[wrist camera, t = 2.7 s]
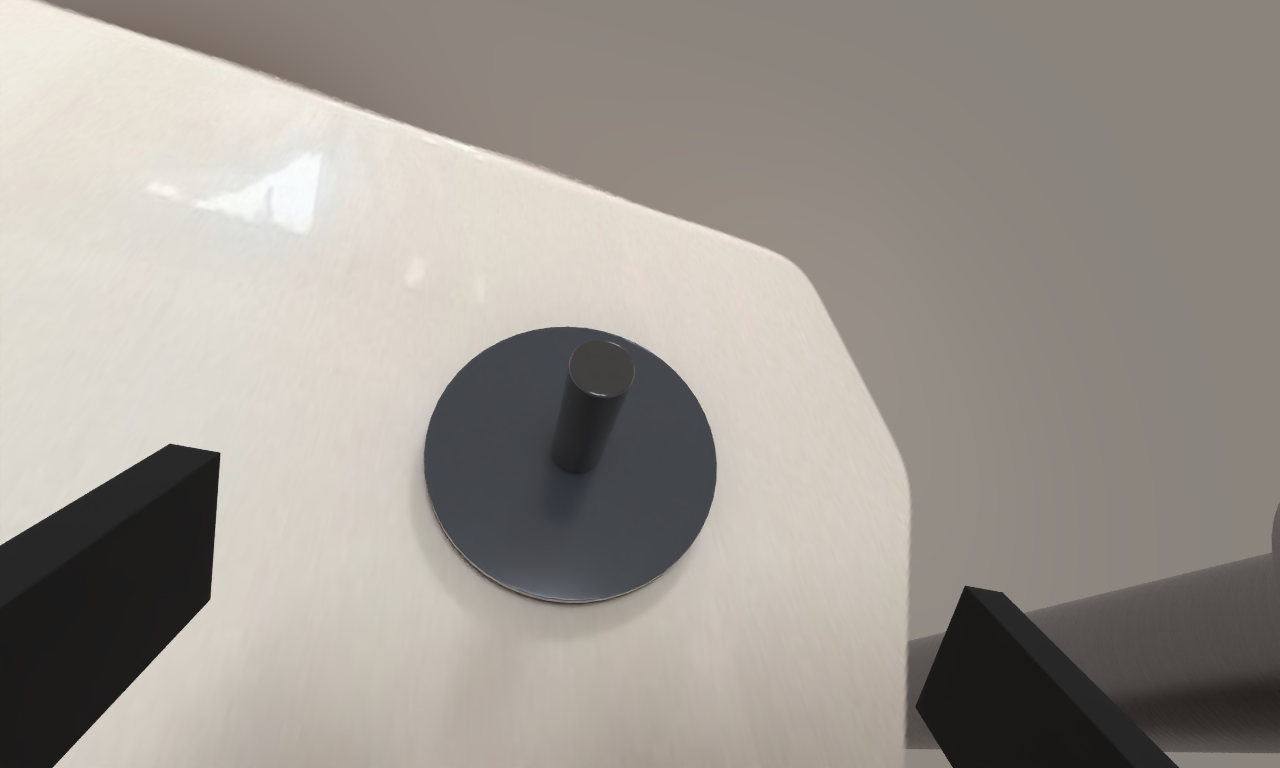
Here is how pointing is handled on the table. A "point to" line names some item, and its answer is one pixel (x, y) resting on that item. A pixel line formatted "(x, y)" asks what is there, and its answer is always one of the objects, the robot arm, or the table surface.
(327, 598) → the table surface
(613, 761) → the table surface
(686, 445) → the lid
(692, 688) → the table surface
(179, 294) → the table surface
